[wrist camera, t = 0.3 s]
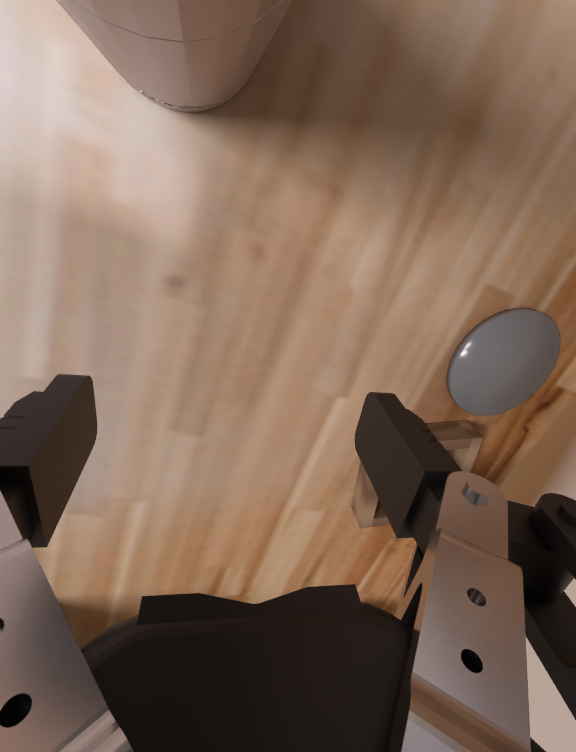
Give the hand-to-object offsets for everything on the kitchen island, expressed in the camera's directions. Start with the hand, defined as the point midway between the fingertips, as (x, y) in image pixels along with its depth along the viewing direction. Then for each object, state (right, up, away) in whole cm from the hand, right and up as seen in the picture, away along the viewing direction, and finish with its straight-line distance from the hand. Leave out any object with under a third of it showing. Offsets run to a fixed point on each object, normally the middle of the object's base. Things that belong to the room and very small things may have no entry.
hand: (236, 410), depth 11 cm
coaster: (+22, +2, +25) cm, 33 cm away
